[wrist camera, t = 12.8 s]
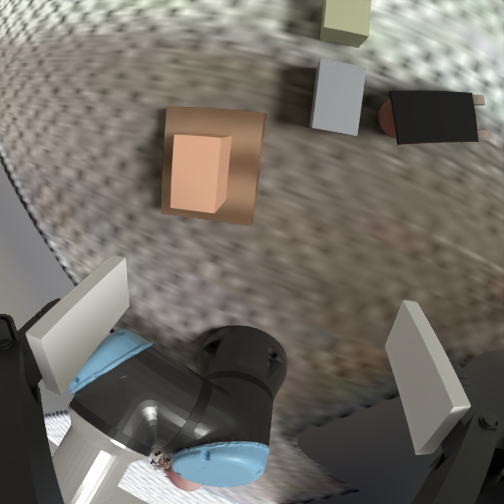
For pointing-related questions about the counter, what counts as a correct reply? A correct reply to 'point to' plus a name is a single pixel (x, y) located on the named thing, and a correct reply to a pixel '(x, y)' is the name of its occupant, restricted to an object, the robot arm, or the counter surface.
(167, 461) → the toy
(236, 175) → the walnut board
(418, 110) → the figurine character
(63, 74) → the counter surface
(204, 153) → the terracotta brick
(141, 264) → the counter surface
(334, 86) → the grey brick
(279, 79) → the counter surface
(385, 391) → the counter surface
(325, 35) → the olive brick
